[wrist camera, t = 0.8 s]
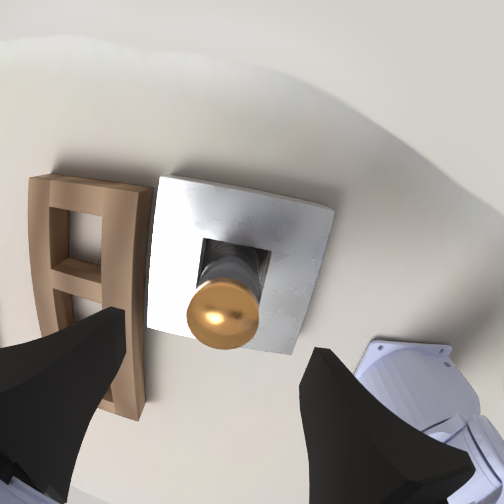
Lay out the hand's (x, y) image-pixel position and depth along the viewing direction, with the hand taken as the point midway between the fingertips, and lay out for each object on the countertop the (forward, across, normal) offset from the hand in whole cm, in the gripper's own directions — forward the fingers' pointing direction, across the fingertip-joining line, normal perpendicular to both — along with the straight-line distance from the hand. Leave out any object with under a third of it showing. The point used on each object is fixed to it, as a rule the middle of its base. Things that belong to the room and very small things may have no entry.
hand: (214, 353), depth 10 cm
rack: (+9, +10, +6) cm, 15 cm away
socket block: (+9, 0, 0) cm, 9 cm away
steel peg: (+9, 0, 0) cm, 9 cm away
